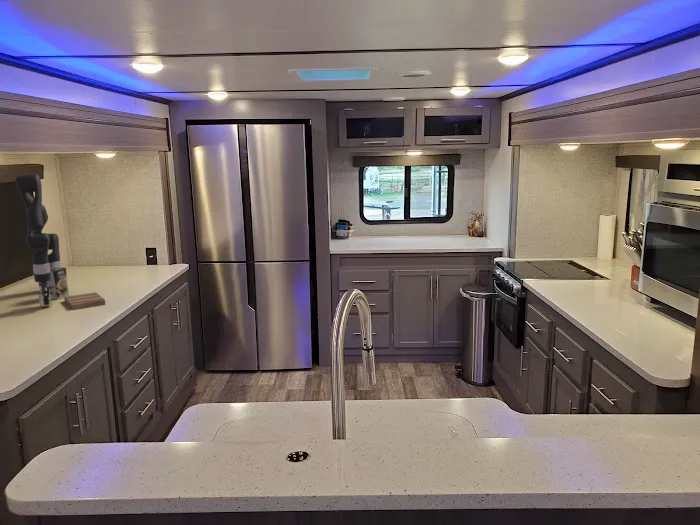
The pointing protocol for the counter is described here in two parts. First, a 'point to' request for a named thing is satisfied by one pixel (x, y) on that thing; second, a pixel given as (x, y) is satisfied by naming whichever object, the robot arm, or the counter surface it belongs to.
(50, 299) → the maple cube
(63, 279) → the coffee box
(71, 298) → the walnut base
